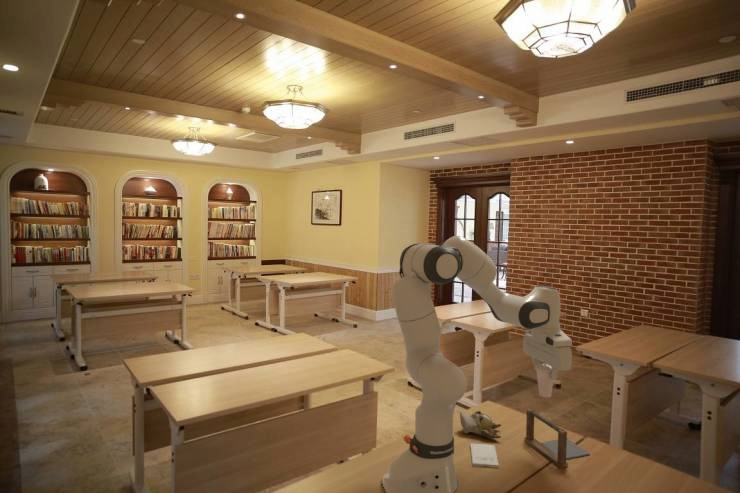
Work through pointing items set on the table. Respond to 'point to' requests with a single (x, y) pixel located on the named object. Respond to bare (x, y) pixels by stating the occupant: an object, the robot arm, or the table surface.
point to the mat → (571, 450)
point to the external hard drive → (484, 455)
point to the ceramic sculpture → (479, 424)
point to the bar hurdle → (562, 444)
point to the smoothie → (544, 380)
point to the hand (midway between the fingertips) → (545, 375)
